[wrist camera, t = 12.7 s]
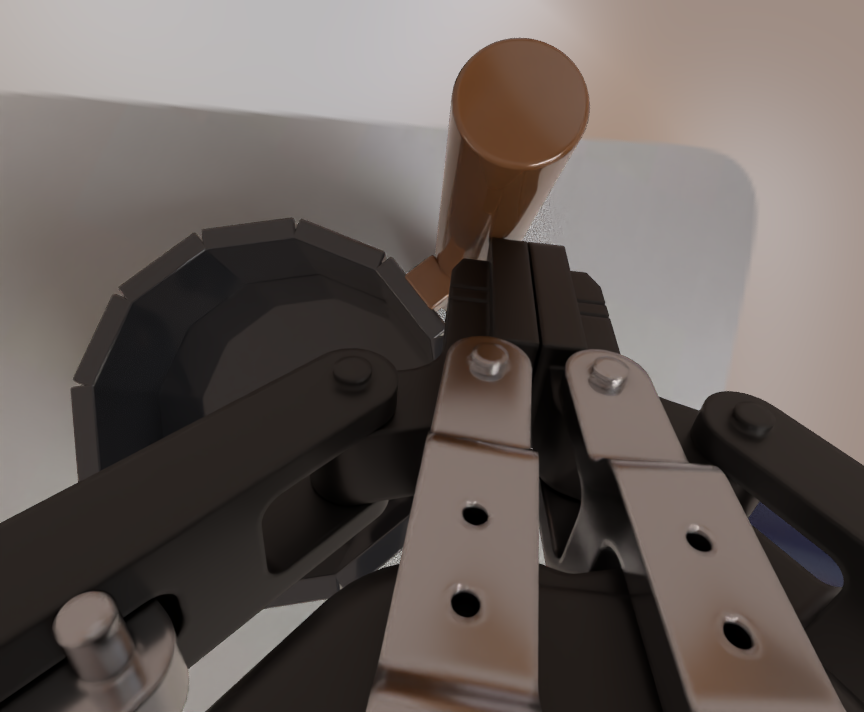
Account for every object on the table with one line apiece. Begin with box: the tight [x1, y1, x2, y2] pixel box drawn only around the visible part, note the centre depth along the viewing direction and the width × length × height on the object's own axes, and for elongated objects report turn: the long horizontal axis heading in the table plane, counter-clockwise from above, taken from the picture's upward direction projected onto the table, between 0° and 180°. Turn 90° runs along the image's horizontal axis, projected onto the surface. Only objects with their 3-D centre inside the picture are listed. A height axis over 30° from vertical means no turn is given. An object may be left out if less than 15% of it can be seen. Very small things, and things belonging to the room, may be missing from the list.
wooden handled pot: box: [71, 38, 590, 609], centre depth 14 cm, size 13×10×12 cm
